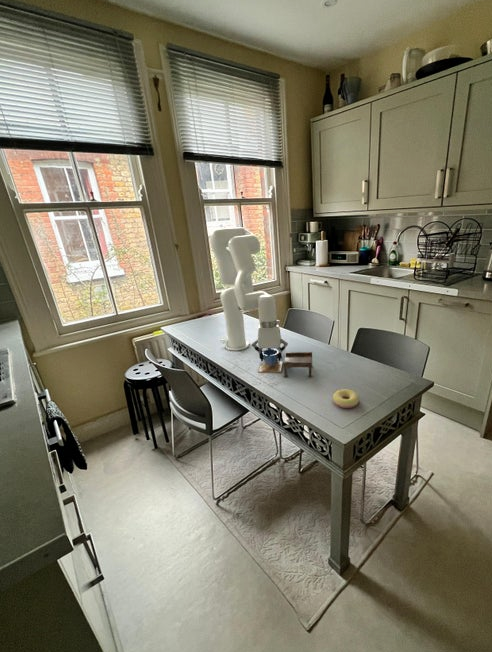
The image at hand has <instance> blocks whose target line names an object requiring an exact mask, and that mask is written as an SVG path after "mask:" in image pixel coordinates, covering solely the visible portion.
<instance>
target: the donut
mask: <svg viewBox="0 0 492 652" xmlns="http://www.w3.org/2000/svg"><path fill="white" fill-rule="evenodd" d="M332 400H333V403H334V404H335V405H336V406H337V407H338V408H339V407H340V408H342V409H351V408H354V407H355V406H357V405H358V403H359V401H360V397H359V395H358V394H357V392H355V391H353V390H352V389H347V388H343V389H342V388H341V389H338V390H337V391H335V392H334V394H333V396H332Z"/></svg>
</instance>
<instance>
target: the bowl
mask: <svg viewBox="0 0 492 652" xmlns="http://www.w3.org/2000/svg"><path fill="white" fill-rule="evenodd" d="M262 351H263V352H262V358H263V362H264V364H266V365H275V364H277V363H278V362H279V361H278V350H277V349H276V348H271V349H268V348H267V349H265V350H262ZM269 354H273V355H269Z"/></svg>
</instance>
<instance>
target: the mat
mask: <svg viewBox="0 0 492 652" xmlns="http://www.w3.org/2000/svg"><path fill="white" fill-rule="evenodd" d="M283 362H284V361H278V363H277V364H275V365H266V364H264V361H261V364H260V367H259V369H258V373H278V374H279V373H281V372H282V368H283V366H284V365H283Z"/></svg>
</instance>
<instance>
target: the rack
mask: <svg viewBox="0 0 492 652" xmlns="http://www.w3.org/2000/svg"><path fill="white" fill-rule="evenodd" d="M282 362H283V365H282V366H283V375H284V378H288V368H308V378H309V379H310V378H312V376H313V375H312V372H313V371H312V369H313V351H285V357H284V361H282Z"/></svg>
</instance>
